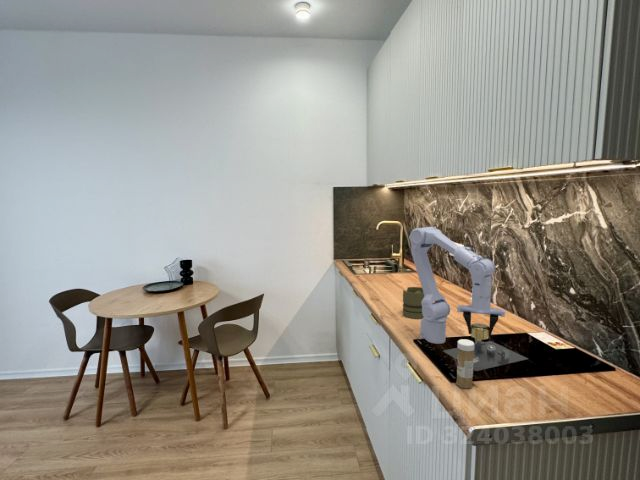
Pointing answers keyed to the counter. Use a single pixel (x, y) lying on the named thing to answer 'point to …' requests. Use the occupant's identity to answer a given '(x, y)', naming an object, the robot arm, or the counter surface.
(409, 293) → the piston
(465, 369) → the sprinkles bottle
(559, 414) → the counter surface
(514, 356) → the base
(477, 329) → the cap
